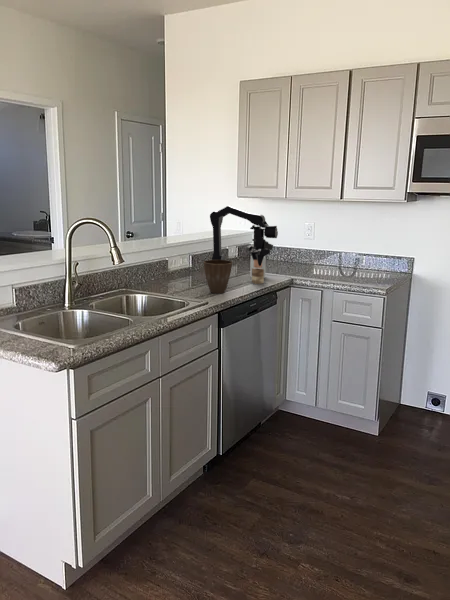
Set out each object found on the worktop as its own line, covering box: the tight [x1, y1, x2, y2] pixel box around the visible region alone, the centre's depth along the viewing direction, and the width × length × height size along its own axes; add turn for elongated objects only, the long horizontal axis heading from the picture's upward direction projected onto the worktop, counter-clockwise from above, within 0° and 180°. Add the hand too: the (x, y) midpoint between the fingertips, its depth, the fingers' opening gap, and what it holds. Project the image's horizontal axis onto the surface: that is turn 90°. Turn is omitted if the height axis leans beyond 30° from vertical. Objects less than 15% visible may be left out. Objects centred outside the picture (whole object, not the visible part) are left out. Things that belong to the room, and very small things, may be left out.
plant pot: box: [203, 259, 233, 294], centre depth 264 cm, size 15×15×16 cm
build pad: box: [248, 280, 269, 286], centre depth 290 cm, size 9×9×1 cm
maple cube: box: [251, 276, 265, 285], centre depth 289 cm, size 5×5×4 cm
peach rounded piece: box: [254, 259, 262, 268], centre depth 287 cm, size 5×5×4 cm
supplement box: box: [249, 256, 267, 279], centre depth 307 cm, size 7×7×13 cm
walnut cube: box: [252, 268, 264, 277], centre depth 288 cm, size 5×5×4 cm
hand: (257, 265), depth 288 cm, fingers closed on peach rounded piece, 5 cm apart
